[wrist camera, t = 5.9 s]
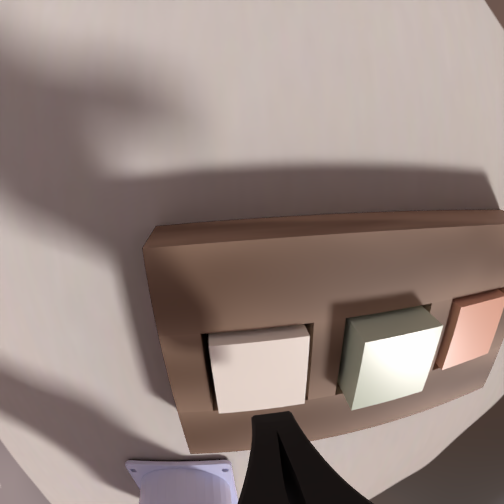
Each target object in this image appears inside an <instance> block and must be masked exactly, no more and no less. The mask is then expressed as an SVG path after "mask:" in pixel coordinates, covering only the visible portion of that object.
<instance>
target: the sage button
mask: <svg viewBox="0 0 504 504" xmlns="http://www.w3.org/2000/svg"><path fill="white" fill-rule="evenodd" d="M442 328H443V325H442V324H441V323H440V322H439V321H438V320H437V319H436V318H435V317H434V316H433V315H431V314H430V313H429V312H428V311H427V310H426V309H425V308H424V307H423V306H422V305H420V306H415V307H409V308H404V309H398V310H393V311H387V312H381V313H375V314H369V315H363V316H356V317H350V318H346V321H345V329H344V337H343V345H342V352H341V360H340V366H339V373H338V379H337V382H338V384H339V386H340V388H341V390H342V392H343V394H344V396H345V398H346V401H347V403H348V405H349V407H350V409H351V410H356V409H360V408H364V407H368V406H372V405H376V404H380V403H383V402H387V401H391V400H394V399H398V398H401V397H405V396H408V395H411V394H414V393H418V392H421V391H422V390H423V387H424V385H425V382H426V379H427V376H428V373H429V370H430V367H431V364H432V361H433V358H434V355H435V352H436V349H437V345H438V342H439V339H440V335H441V332H442Z"/></svg>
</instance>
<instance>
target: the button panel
mask: <svg viewBox="0 0 504 504" xmlns="http://www.w3.org/2000/svg"><path fill="white" fill-rule="evenodd" d="M142 250H143V257H144V263H145V269H146V275H147V280H148V286H149V292H150V297H151V302H152V307H153V312H154V317H155V322H156V327H157V331H158V336H159V340H160V345H161V349H162V353H163V358H164V362H165V366H166V370H167V374H168V378H169V382H170V386H171V389H172V393H173V397H174V400H175V404H176V408H177V411H178V415H179V418H180V421H181V425H182V428H183V431H184V435H185V438H186V441H187V444H188V447H189V451H190V454H199V453H219V452H232V451H244V450H251V443H252V423H251V417H253V416H254V415H261V414H269V413H277V412H284V411H290V412H292V414H293V416H294V418H295V420H296V421H297V423H298V425H299V426H300V428H301V429H302V431H303V432H304V434H305V435H306V437H307V438H308V440H309V441H314V440H319V439H324V438H329V437H333V436H338V435H342V434H347V433H351V432H355V431H359V430H363V429H367V428H371V427H374V426H378V425H381V424H385V423H388V422H392V421H395V420H398V419H401V418H404V417H408V416H411V415H414V414H417V413H419V412H422V411H425V410H428V409H431V408H433V407H436V406H439V405H441V404H444V403H447V402H449V401H452V400H454V399H457V398H459V397H461V396H464V395H466V394H469V393H471V392H473V391H475V390H478V389H480V388H482V387H483V386H484V384H485V382H486V380H487V378H488V375H489V373H490V371H491V369H492V366H493V364H494V361H495V359H496V357H497V354H498V352H499V349H500V346H501V344H502V341H503V338H504V308H503V311H502V315H501V318H500V321H499V324H498V327H497V330H496V333H495V336H494V338H493V341H492V344H491V347H490V349H489V352H488V353H487V354H485V355H482V356H480V357H477V358H475V359H472V360H469V361H467V362H464V363H461V364H458V365H455V366H453V367H450V368H447V369H444V370H441V369H440V368H439V366H438V365H437V364H436V363H435V360H436V357H437V354H438V351H439V348H440V345H441V341H442V338H443V335H444V331H445V327H446V324H447V320H448V316H449V312H450V308H451V304H452V300H453V299H454V298H459V297H463V296H468V295H472V294H477V293H481V292H485V291H489V290H493V289H499V290H500V291H502V292H503V293H504V211H503V210H432V211H395V212H367V213H344V214H323V215H304V216H286V217H270V218H254V219H240V220H226V221H212V222H199V223H187V224H175V225H163V226H156V227H155V228H154V230H153V232H152V233H151V235H150V236H149V238H148V240H147V241H146V243H145V245H144V246H143V248H142ZM420 305H422V306H423V307H424V308H425V309H426V310H427V311H428V312H429V313H430V314H431V315H433V316H434V317H435V318H436V319H437V320H438V321H439V322H440V323H441V324H442V325H443V328H442V332H441V335H440V339H439V342H438V345H437V349H436V352H435V355H434V358H433V361H432V364H431V367H430V370H429V373H428V376H427V379H426V382H425V385H424V387H423V390H422V391H421V392H418V393H414V394H411V395H408V396H405V397H401V398H398V399H394V400H391V401H387V402H383V403H380V404H376V405H372V406H368V407H364V408H360V409H356V410H351V409H350V407H349V405H348V403H347V401H346V398H345V396H344V394H343V392H342V390H341V388H340V386H339V384H338V382H337V379H338V373H339V366H340V360H341V352H342V345H343V337H344V329H345V321H346V318H350V317H356V316H363V315H369V314H375V313H381V312H387V311H393V310H398V309H404V308H409V307H415V306H420ZM298 324H304V325H305V327H306V329H307V331H308V333H309V335H310V341H309V356H308V369H307V382H306V393H305V404H299V405H292V406H285V407H278V408H270V409H262V410H253V411H243V412H233V413H220V414H219V411H218V405H217V398H216V392H215V386H214V379H213V373H212V371H211V364H210V357H209V350H208V343H207V336H206V333H217V332H230V331H241V330H252V329H262V328H272V327H281V326H290V325H298Z"/></svg>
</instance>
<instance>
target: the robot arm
mask: <svg viewBox="0 0 504 504" xmlns="http://www.w3.org/2000/svg"><path fill="white" fill-rule="evenodd" d="M251 423H252V443H251V451H250V457H249V463H248V468H247V472H246V476H245V480H244V484H243V488H242V491H241V494H240V498H239V501H238V498H237V492H236V487H235V482H234V476H233V471H232V465H231V462H230V461H229V460H211V461H135V460H128V461H126V463H125V467H126V468H127V470H128V471H129V473H130V475H131V476H132V478H133V479H134V481H135V483H136V484H137V486H138V487H139V489H140V499H139V504H373V503H372V502H370V501H369V500H368V499H366V498H365V497H364V496H362V495H361V494H360V493H359V492H357V491H356V490H355V489H354V488H353V487H351V486H350V485H349V484H348V483H347V482H346V481H345V480H344V479H343V478H342V477H341V476H339V475H338V474H337V473H336V471H335V470H334V469H333V468H332V467H331V466H330V465H329V464H328V463H327V462H326V461H325V460H324V458H323V457H322V456H321V455H320V454H319V452H318V451H317V450H316V449H315V447H314V446H313V445H312V444H311V442H310V441H309V440H308V438H307V437H306V435H305V434H304V432H303V431H302V429H301V428H300V426H299V425H298V423H297V421H296V420H295V418H294V416H293V414H292V412H290V411H284V412H277V413H269V414H261V415H254V416H253V417H251Z"/></svg>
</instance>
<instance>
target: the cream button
mask: <svg viewBox="0 0 504 504" xmlns="http://www.w3.org/2000/svg"><path fill="white" fill-rule="evenodd" d="M309 341H310V335H309V333H308V331H307V329H306V327H305V325H304V324H298V325H290V326H281V327H272V328H262V329H252V330H241V331H230V332H217V333H209V352H210V359H211V366H212V373H213V379H214V386H215V392H216V398H217V405H218V411H219V414H220V413H233V412H243V411H253V410H262V409H270V408H278V407H285V406H292V405H299V404H305V393H306V382H307V369H308V356H309Z"/></svg>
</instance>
